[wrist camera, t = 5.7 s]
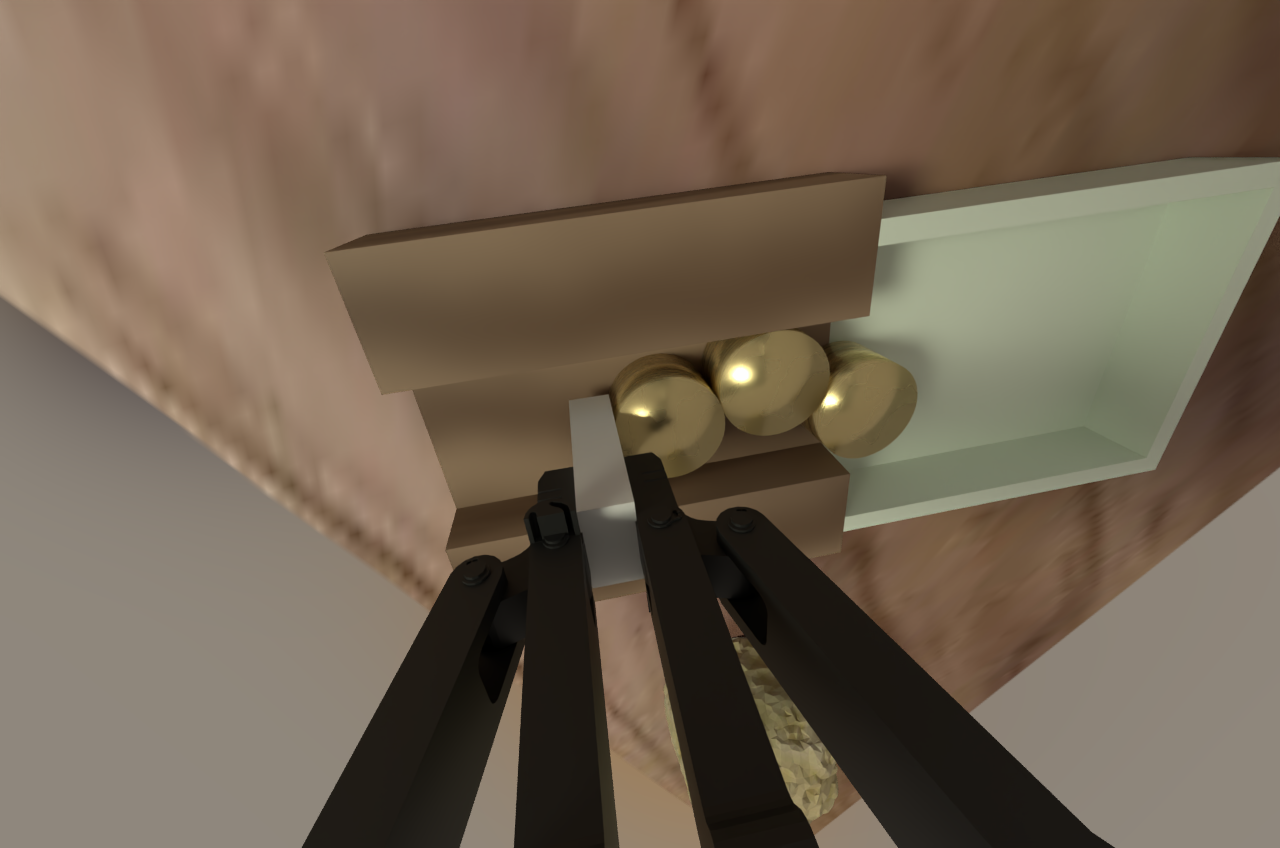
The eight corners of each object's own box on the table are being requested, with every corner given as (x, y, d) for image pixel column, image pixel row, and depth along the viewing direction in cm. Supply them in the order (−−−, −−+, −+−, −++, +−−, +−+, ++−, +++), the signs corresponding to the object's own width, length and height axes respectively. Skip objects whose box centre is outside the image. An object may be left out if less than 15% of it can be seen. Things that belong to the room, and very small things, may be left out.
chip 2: (701, 315, 18) (721, 337, 16) (804, 305, 19) (837, 324, 16) (700, 411, 20) (718, 442, 18) (794, 400, 21) (822, 428, 18)
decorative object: (666, 681, 36) (751, 833, 31) (609, 706, 27) (716, 923, 22) (768, 607, 35) (872, 751, 30) (744, 607, 26) (885, 810, 21)
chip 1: (592, 377, 19) (596, 405, 17) (690, 337, 19) (708, 361, 16) (628, 458, 21) (637, 493, 19) (717, 422, 21) (737, 454, 18)
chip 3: (799, 341, 19) (835, 363, 17) (886, 340, 20) (932, 361, 18) (779, 431, 21) (809, 461, 19) (861, 426, 22) (899, 455, 20)
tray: (825, 208, 18) (881, 219, 15) (1189, 157, 19) (1308, 157, 16) (806, 484, 24) (843, 531, 21) (1083, 432, 25) (1155, 469, 22)
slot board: (366, 234, 16) (323, 252, 13) (828, 172, 18) (886, 175, 14) (486, 565, 24) (476, 625, 20) (805, 503, 25) (840, 552, 22)
